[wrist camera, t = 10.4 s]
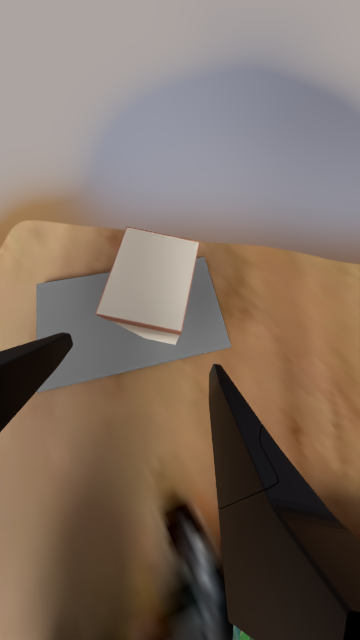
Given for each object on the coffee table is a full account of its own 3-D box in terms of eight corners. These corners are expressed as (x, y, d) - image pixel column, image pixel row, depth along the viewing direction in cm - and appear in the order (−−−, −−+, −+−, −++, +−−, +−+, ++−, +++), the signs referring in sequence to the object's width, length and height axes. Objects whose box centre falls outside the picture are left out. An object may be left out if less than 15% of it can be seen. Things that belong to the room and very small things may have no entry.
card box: (175, 345, 18) (181, 332, 6) (144, 338, 18) (94, 314, 6) (183, 308, 19) (199, 242, 8) (154, 302, 19) (126, 226, 8)
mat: (44, 390, 17) (36, 392, 16) (43, 287, 20) (36, 284, 19) (228, 347, 19) (231, 347, 18) (203, 261, 22) (204, 256, 21)
